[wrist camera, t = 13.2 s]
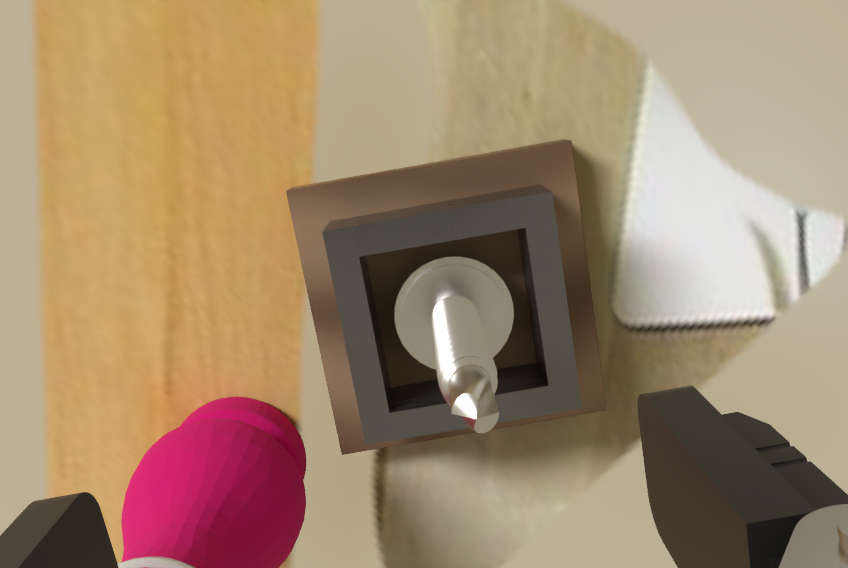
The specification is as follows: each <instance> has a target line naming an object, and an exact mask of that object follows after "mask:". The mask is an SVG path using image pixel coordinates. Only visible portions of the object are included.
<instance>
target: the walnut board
mask: <svg viewBox="0 0 848 568" xmlns="http://www.w3.org/2000/svg"><path fill="white" fill-rule="evenodd" d="M539 184H540V185H541V186H543V187H545V188H547V189H549V190H550V191H552V193H553V201H554V208H555V215H556V223H557V230H558V237H559V244H560V252H561V259H562V266H563V274H564V281H565V288H566V295H567V303H568V310H569V317H570V324H571V332H572V339H573V346H574V354H575V361H576V368H577V375H578V383H579V390H580V397H581V405H582V409H577V410H571V411H565V412H559V413H553V414H547V415H541V416H535V417H529V418H523V419H517V420H512V421H506V422H500V423H496V424H495V426H494V427H493V428H492V429H496V428H502V427H508V426H514V425H520V424H526V423H532V422H538V421H544V420H550V419H556V418H561V417H567V416H573V415H579V414H585V413H591V412H597V411H603V410H606V404H605V396H604V388H603V380H602V373H601V365H600V357H599V350H598V342H597V334H596V327H595V319H594V311H593V304H592V296H591V288H590V281H589V273H588V265H587V257H586V250H585V242H584V234H583V227H582V219H581V211H580V204H579V196H578V188H577V181H576V173H575V165H574V158H573V150H572V142H571V141H570V140H565V139H564V140H558V141H553V142H547V143H541V144H536V145H530V146H524V147H519V148H513V149H507V150H502V151H496V152H490V153H485V154H479V155H473V156H468V157H462V158H456V159H451V160H445V161H439V162H434V163H428V164H422V165H417V166H412V167H405V168H400V169H395V170H388V171H383V172H378V173H372V174H366V175H360V176H354V177H349V178H343V179H337V180H332V181H327V182H320V183H315V184H309V185H303V186H298V187H292V188H290V189H289V190H287V191H286V193H287V198H288V202H289V207H290V212H291V216H292V221H293V226H294V231H295V235H296V240H297V245H298V249H299V254H300V259H301V264H302V268H303V273H304V278H305V282H306V287H307V292H308V297H309V301H310V306H311V311H312V315H313V320H314V325H315V329H316V334H317V339H318V344H319V348H320V353H321V358H322V363H323V367H324V372H325V377H326V381H327V386H328V391H329V395H330V400H331V405H332V410H333V414H334V419H335V424H336V429H337V433H338V438H339V443H340V447H341V452H342V455H343V454H349V453H354V452H361V451H366V450H372V449H378V448H384V447H390V446H396V445H402V444H408V443H414V442H420V441H426V440H431V439H437V438H443V437H449V436H455V435H461V434H467V433H473V432H476V431H474V430H473V429H472V428H471V427H470V428H464V429H458V430H453V431H447V432H441V433H435V434H429V435H423V436H417V437H411V438H405V439H399V440H394V441H388V442H382V443H376V444H370V445H366V444H365V439H364V434H363V429H362V424H361V419H360V415H359V410H358V405H357V400H356V395H355V390H354V385H353V380H352V375H351V370H350V366H349V361H348V356H347V351H346V346H345V341H344V336H343V331H342V326H341V322H340V317H339V312H338V307H337V302H336V297H335V292H334V287H333V282H332V277H331V273H330V268H329V263H328V258H327V253H326V248H325V243H324V238H323V233H322V231H323V230H324V229H325V227H326V226H327V225H328V223H329V222H330V221H333V220H339V219H345V218H351V217H356V216H362V215H368V214H373V213H379V212H385V211H390V210H396V209H402V208H407V207H413V206H419V205H425V204H430V203H436V202H442V201H447V200H453V199H459V198H464V197H470V196H476V195H482V194H487V193H493V192H499V191H504V190H510V189H516V188H521V187H527V186H533V185H539ZM448 255H461V256H466V257H472V258H474V259H477V260H479V261H481V262H484V263H485V264H486V265H488V266H489V267H491V268H492V269H494V270H495V271H496V273H497V274H498V275H499V276H500V277H501V278H502V279H503V281H504V283H505V285H506V286H507V288H508V290H509V292H510V295H511V298H512V302H513V311H514V319H513V325H512V330H511V332H510V335H509V337H508V340H507V341H506V343H505V344H504V346H503V347H502V349H501V350H500V351H499V352H498V353H497V354H496V355H495V356H494V357H493V360H494V363H495V366H496V369H501V368H507V367H513V366H519V365H525V364H530V363H536V362H537V360H536V353H535V347H534V340H533V333H532V327H531V320H530V313H529V306H528V300H527V293H526V286H525V280H524V273H523V266H522V259H521V253H520V246H519V239H518V232H517V229H516V230H510V231H505V232H499V233H493V234H487V235H482V236H476V237H470V238H464V239H459V240H453V241H447V242H441V243H436V244H430V245H424V246H419V247H413V248H407V249H401V250H396V251H390V252H384V253H378V254H373V255H367V256H366V259H367V265H368V270H369V275H370V280H371V285H372V290H373V296H374V301H375V306H376V311H377V316H378V321H379V327H380V332H381V337H382V342H383V347H384V353H385V358H386V363H387V368H388V373H389V378H390V384H391V387H396V386H402V385H407V384H413V383H419V382H425V381H431V380H437V370H436V369H433V368H430V367H428V366H426V365H424V364H422V363H420V362H419V361H418V360H416V359H415V358H414V357H413V356H412V355H411V354H409V352H408V351H407V350H406V348H405V347H404V346H403V344H402V342H401V340H400V338H399V336H398V334H397V330H396V325H395V320H394V318H395V303H396V299H397V295H398V292H399V290H400V288H401V286H402V284H403V282H404V281H405V280H406V279H407V278H408V276H409V275H410V274H411V273H412V272H413V271H414V270H415V269H417V268H418V267H419V266H420V265H422V264H424V263H426V262H428V261H430V260H432V259H434V258H438V257H442V256H448Z"/></svg>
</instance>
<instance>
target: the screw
mask: <svg viewBox="0 0 848 568" xmlns="http://www.w3.org/2000/svg"><path fill="white" fill-rule="evenodd" d="M513 319H514V311H513V302H512V298H511V295H510V292H509V290H508V288H507V286H506V285H505V283H504V281H503V279H502V278H501V277H500V276H499V275H498V274H497V273H496V271H495V270H494V269H492V268H491V267H489V266H488V265H486V264H485V263H484V262H481V261H479V260H477V259H474V258H472V257H466V256H461V255H448V256H442V257H438V258H434V259H432V260H430V261H428V262H426V263H424V264H422V265H420V266H419V267H418V268H417V269H415V270H414V271H413V272H412V273H411V274H410V275H409V276H408V278H407V279H406V280H405V281H404V282H403V284H402V286H401V288H400V290H399V292H398V295H397V299H396V303H395V318H394V320H395V325H396V330H397V334H398V336H399V338H400V340H401V342H402V344H403V346H404V347H405V348H406V350H407V351H408V352H409V354H411V355H412V356H413V357H414V358H415V359H416V360H418V361H419V362H420V363H422V364H424V365H426V366H428V367H430V368H433V369H436V370H437V379H438V383H439V388H440V391H441V393H442V394H443V397H444V399H445V401H446V402H447V403H448V405H449V406H450V407H451V414H454V415H459V416H461V417H462V419H463V420H464V421H465V422H466V423H467V424H468V425H469V426H470V427H471V428H472V429H473V430H474V431H476V432H477V433H486V432H488V431H490V430H491V429H492V428H493V427H494V426H495V424H496V423H497V420H498V417H499V410H498V407H497V404H496V400H495V397H494V394H495V392H496V390H497V385H498V379H497V369H496V366H495V363H494V360H493V357H494V356H495V355H496V354H497V353H498V352H499V351H500V350H501V349H502V347H503V346H504V344H505V343H506V341H507V340H508V337H509V335H510V332H511V330H512V325H513Z"/></svg>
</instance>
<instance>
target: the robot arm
mask: <svg viewBox="0 0 848 568" xmlns="http://www.w3.org/2000/svg"><path fill="white" fill-rule="evenodd" d="M638 416H639V425H640V433H641V441H642V449H643V456H644V465H645V473H646V480H647V488H648V496H649V502H650V506H651V511H652V514H653V518H654V521H655V524H656V527H657V530H658V533H659V535H660V537H661V539H662V541H663V543H664V544H665V546H666V548H667V550H668V551H669V553H670V555H671V556H672V558H673V560H674V562H675V563H676V565H677V567H678V568H848V495H847V494H846V493H845V492H844V491H843V490H841V489H840V488H839V487H838V486H837V485H836V484H835V483H834V482H833V481H832V480H831V479H829V478H828V477H827V476H826V475H825V474H824V473H823V472H822V471H821V470H819V469H818V468H817V467H816V466H815V465H814V464H813V463H812V462H807V459H806V457H805V456H804V455H803V454H802V453H801V452H799V451H798V450H797V449H796V448H795V447H794V446H790V443H789V442H788V441H787V440H786V439H785V438H784V437H783V436H782V435H781V434H779V433H778V432H777V431H776V430H775V429H774V428H773V427H772V426H771V425H769V424H767V423H764V422H762V421H759V420H757V419H754V418H752V417H749V416H747V415H744V414H742V413H739V412H735V413H729V414H724V415H721V414H720V413H719V412H718V411H717V410H716V409H715V408H714V407H713V406H712V405H711V404H710V403H709V402H708V401H707V400H706V399H705V398H704V397H703V396H702V395H701V394H700V393H699V392H698V391H697V390H696V389H695V388H694V387H693V386H686V387H681V388H675V389H669V390H664V391H658V392H652V393H647V394H641V395H640V396H639V398H638ZM0 568H118V564H117V561H116V558H115V555H114V551H113V548H112V545H111V542H110V538H109V535H108V532H107V529H106V526H105V522H104V519H103V516H102V513H101V510H100V507H99V504H98V502H97V501H96V499H95V498H94V497H93V496H92V495H91V494H90V493H87V492H83V493H78V494H72V495H66V496H61V497H55V498H49V499H44V500H38V501H34V502H32V503H31V504H30V505H28V507H27V508H26V509H25V510H24V511H23V512H22V513H21V514H20V515H19V516H18V517H17V518H16V519H15V521H14V522H13V523H12V524H11V525H10V526H9V527H8V528H7V529H6V530H5V531H4V532H3V533H2V535H1V536H0Z"/></svg>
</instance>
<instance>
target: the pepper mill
mask: <svg viewBox="0 0 848 568" xmlns="http://www.w3.org/2000/svg"><path fill="white" fill-rule="evenodd" d="M305 471H306V453H305V448H304V444H303V441H302V439H301V436H300V435H299V433H298V431H297V429H296V428H295V426H294V425H293V424H292V422H291V421H290V420H289V419H288V418H287V417H286V416H285V415H284V414H282V413H281V412H280V411H279V410H277V409H276V408H274V407H272V406H270V405H268V404H266V403H264V402H262V401H258V400H255V399H250V398H245V397H228V398H222V399H218V400H215V401H212V402H209V403H207V404H206V405H204V406H202V407H200V408H198V409H197V410H196V411H194V412H193V413H192V414H190V415H189V416H188V417H187V419H186V420H185V421H184V422H183V423H182V425H181V426H180V427H179V428H177V429H175V430H173V431H171V432H169V433H167V434H166V435H164V436H163V437H162V438H161V439H159V440H158V441H157V442H156V443H155V444H153V445H152V447H151V448H150V449H149V450H148V451H147V453H146V454H145V455H144V457H143V458H142V460H141V462H140V464H139V465H138V467H137V469H136V471H135V472H134V474H133V476H132V478H131V480H130V483H129V485H128V488H127V491H126V495H125V500H124V506H123V511H122V532H123V543H124V554H123V559H122V562H121V563H118V568H279V567H280V566H281V565H282V563H283V562H284V561H285V560H286V558H287V557H288V555H289V554H290V552H291V551H292V549H293V546H294V544H295V542H296V540H297V538H298V535H299V533H300V530H301V527H302V524H303V521H304V514H305V507H306V497H305V488H304V483H303V479H304V475H305Z"/></svg>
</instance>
